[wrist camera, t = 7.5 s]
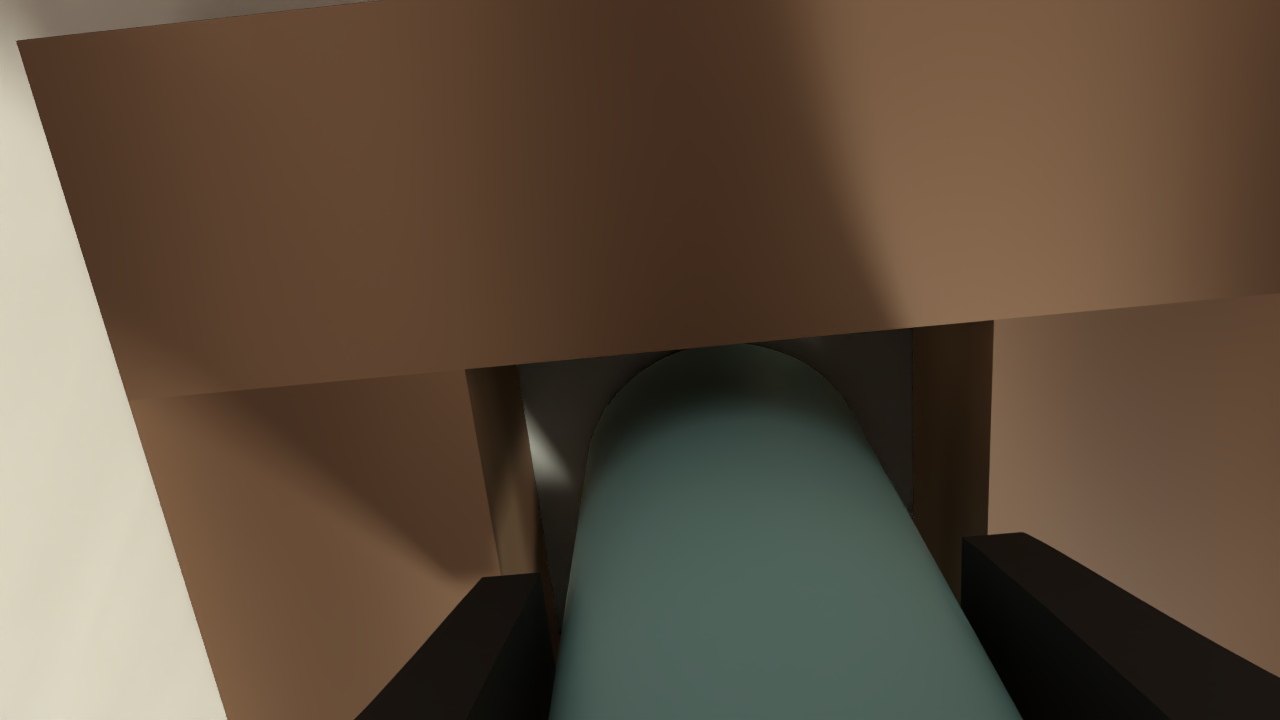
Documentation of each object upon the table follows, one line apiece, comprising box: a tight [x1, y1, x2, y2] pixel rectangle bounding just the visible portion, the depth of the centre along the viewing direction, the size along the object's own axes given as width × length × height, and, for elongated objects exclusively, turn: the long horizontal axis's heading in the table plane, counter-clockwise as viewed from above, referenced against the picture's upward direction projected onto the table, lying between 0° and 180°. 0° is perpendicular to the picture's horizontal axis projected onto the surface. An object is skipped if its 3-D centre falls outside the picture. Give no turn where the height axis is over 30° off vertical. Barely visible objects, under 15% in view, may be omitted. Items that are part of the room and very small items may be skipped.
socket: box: [16, 0, 1280, 720], centre depth 12 cm, size 13×13×3 cm
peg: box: [548, 344, 1023, 720], centre depth 9 cm, size 4×4×8 cm
